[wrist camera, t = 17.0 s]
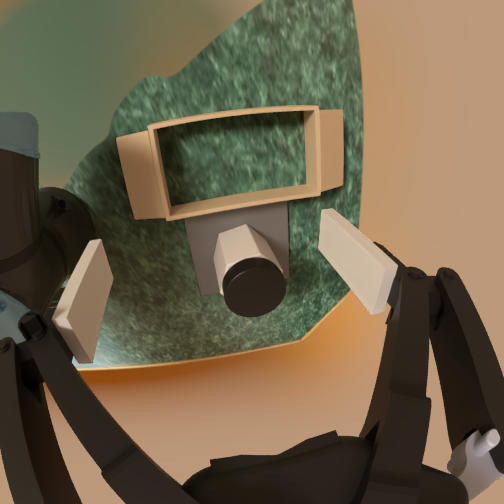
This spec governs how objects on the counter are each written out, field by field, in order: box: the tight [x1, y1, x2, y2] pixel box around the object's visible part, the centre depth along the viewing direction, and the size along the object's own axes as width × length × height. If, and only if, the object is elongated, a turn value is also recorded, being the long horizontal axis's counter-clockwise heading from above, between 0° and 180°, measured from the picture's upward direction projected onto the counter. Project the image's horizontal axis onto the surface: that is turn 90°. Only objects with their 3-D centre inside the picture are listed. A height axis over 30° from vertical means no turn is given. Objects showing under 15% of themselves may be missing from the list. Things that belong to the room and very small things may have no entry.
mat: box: [184, 200, 289, 296], centre depth 46 cm, size 16×16×1 cm
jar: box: [213, 224, 286, 317], centre depth 41 cm, size 9×8×12 cm
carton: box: [116, 105, 344, 221], centre depth 37 cm, size 32×13×4 cm, turn 95°
